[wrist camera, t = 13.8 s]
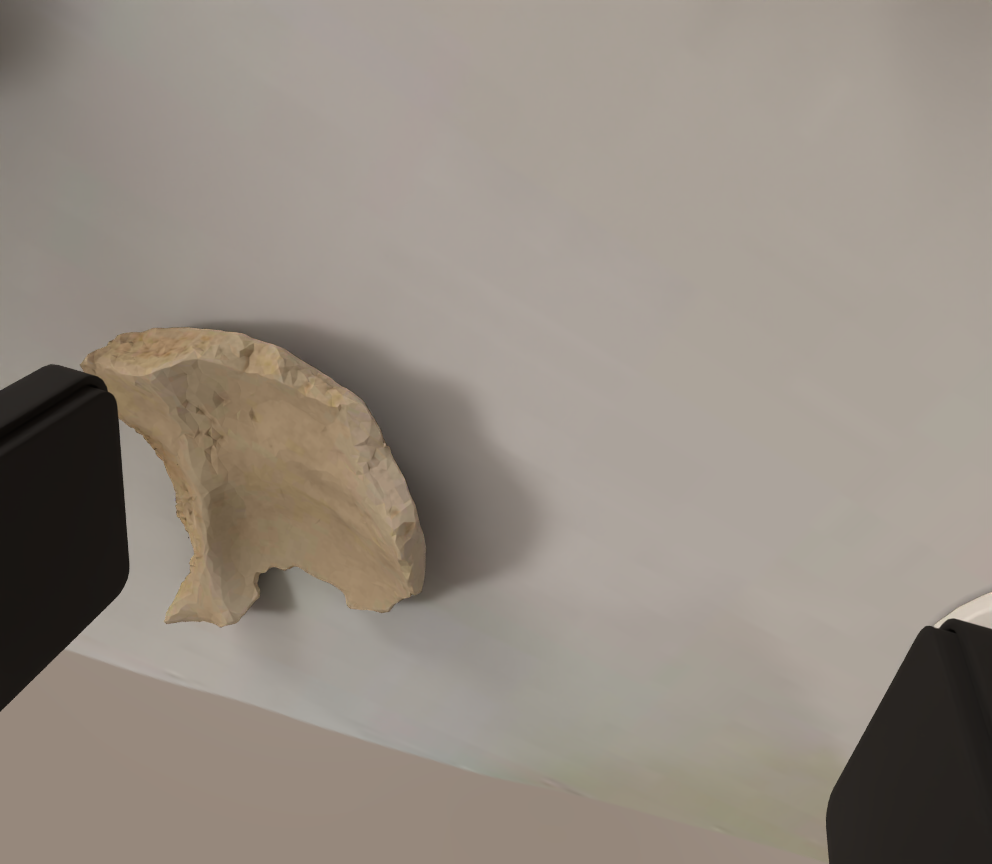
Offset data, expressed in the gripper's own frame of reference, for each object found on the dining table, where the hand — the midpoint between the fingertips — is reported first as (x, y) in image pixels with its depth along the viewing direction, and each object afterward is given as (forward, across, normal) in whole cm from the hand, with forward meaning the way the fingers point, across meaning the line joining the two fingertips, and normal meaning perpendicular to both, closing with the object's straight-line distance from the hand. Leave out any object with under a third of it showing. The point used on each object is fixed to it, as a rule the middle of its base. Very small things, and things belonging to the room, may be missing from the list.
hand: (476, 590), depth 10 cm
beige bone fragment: (+26, +15, +20) cm, 36 cm away
